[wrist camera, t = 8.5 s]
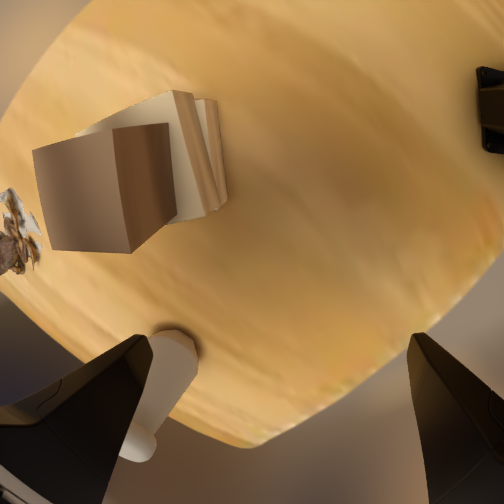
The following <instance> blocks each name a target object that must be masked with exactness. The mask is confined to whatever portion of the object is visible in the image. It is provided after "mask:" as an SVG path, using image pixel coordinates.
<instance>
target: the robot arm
mask: <svg viewBox="0 0 504 504" xmlns="http://www.w3.org/2000/svg"><path fill="white" fill-rule="evenodd" d="M482 71H483V72H484V75H483V74H482ZM477 76H478V84H479V99H480V110H481V123H482V137H483V148H484V150H485V151H487V152H490V153H498V154H504V72H503V71H499V70H496V69H492V68H488V67H484V66H481V67H478V68H477ZM488 143H489V144H490V147H489V148H488ZM152 360H153V351H152V348H151V346H150V343H149V341H148V339H147V337H146V336H145V335H140V334H135V335H133V336H131V337H130V338H128V339H126V340H125V341H123V342H121V343H120V344H118V345H116V346H115V347H113V348H111V349H110V350H108V351H106V352H105V353H103V354H101V355H100V356H98V357H96V358H95V359H93V360H91V361H90V362H88V363H86V364H85V365H83V366H81V367H80V368H78V369H76V370H75V371H73V372H71V373H70V374H68V375H66V376H64V377H63V379H62V378H61V379H59V380H58V381H56V382H54V383H53V384H51V385H49V386H47V387H45V388H44V389H42V390H40V391H38V392H36V393H34V394H32V395H30V396H28V397H25V398H24V399H22V400H19V401H17V402H15V403H13V404H10V405H6V406H0V504H102V501H103V498H104V495H105V492H106V489H107V486H108V483H109V481H110V478H111V475H112V472H113V469H114V467H115V464H116V461H117V458H118V456H119V453H120V450H121V448H122V445H123V442H124V440H125V437H126V434H127V432H128V429H129V427H130V424H131V421H132V419H133V416H134V414H135V411H136V409H137V406H138V404H139V401H140V399H141V396H142V394H143V391H144V388H145V384H146V381H147V377H148V374H149V370H150V367H151V363H152ZM407 363H408V371H409V378H410V386H411V394H412V401H413V406H414V411H415V415H416V420H417V425H418V430H419V435H420V440H421V446H422V452H423V458H424V465H425V472H426V480H427V488H428V497H429V504H504V400H503V399H502V398H501V397H500V396H499V395H497V394H496V393H495V392H494V391H493V390H491V389H490V388H489V387H488V386H487V385H486V384H485V383H484V382H483V381H482V380H480V379H479V378H478V377H477V376H476V375H475V374H473V373H472V372H471V371H470V370H469V369H468V368H466V367H465V366H464V365H463V364H462V363H461V362H459V361H458V360H457V359H456V358H455V357H453V356H452V355H451V354H450V353H449V352H447V351H446V350H445V349H444V348H443V347H441V346H440V345H439V344H438V343H437V342H435V341H434V340H433V339H432V338H430V337H429V336H428V335H427V334H426V333H424V332H421V333H414V334H412V336H411V339H410V343H409V347H408V351H407Z"/></svg>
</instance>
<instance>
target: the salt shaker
mask: <svg viewBox="0 0 504 504" xmlns="http://www.w3.org/2000/svg"><path fill="white" fill-rule="evenodd" d="M147 339H148V341H149V343H150V346H151V348H152V351H153V360H152V363H151V367H150V370H149V374H148V377H147V381H146V384H145V388H144V391H143V394H142V396H141V399H140V401H139V404H138V406H137V409H136V411H135V414H134V416H133V419H132V421H131V424H130V427H129V429H128V432H127V434H126V437H125V440H124V442H123V445H122V448H121V450H120V453H119V455H120V456H121V457H123V458H126V459H129V460H131V461H135V462H143V461H147V460H148V459H150V458H151V456H152V454H153V453H154V451H155V448H156V440H155V437H154V436H153V435H154V433H155V432H156V431H157V429H158V428H159V426H160V425H161V424H162V423H163V421H164V419H165V418H166V417H167V416H168V414H169V413H170V411H171V410H172V409H173V407H174V406H175V404H176V403H177V402H178V400H179V399H180V397H181V396H182V395H183V393H184V392H185V390H186V389H187V388H188V386H189V385H190V383H191V382H192V381H193V379H194V378H195V376H196V375H197V372H198V357H197V353H196V349H195V345H194V340H193V339H191V338H190V337H188V336H187V335H185V334H184V333H182V332H181V331H179V330H178V329H175V330H163V331H160V332H158V333H156V334H154V335H152V336H150V337H148V338H147Z"/></svg>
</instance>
